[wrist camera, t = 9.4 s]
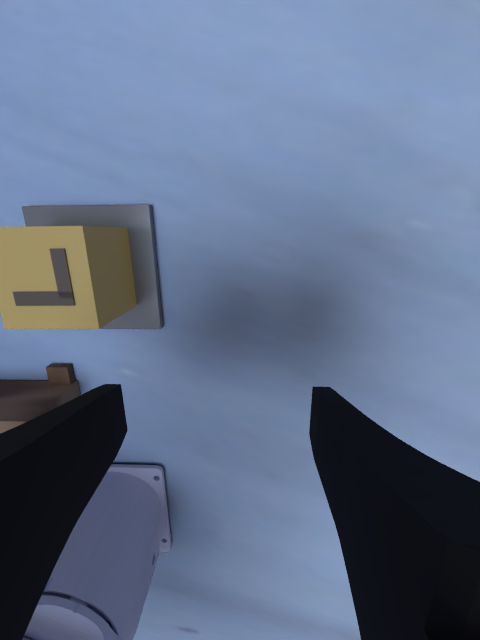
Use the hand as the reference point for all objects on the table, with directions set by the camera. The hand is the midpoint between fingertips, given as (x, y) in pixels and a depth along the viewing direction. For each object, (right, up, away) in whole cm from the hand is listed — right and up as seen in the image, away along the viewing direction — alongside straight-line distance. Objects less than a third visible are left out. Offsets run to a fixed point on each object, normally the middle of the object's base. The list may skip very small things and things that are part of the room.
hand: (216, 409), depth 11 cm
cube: (-9, +7, +8) cm, 14 cm away
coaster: (-9, +7, +9) cm, 14 cm away
